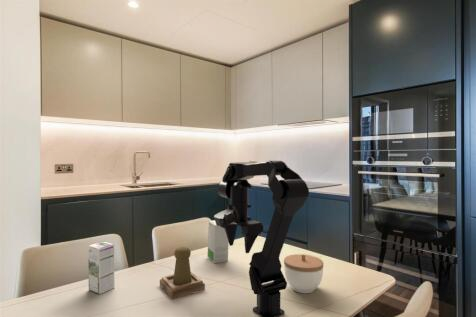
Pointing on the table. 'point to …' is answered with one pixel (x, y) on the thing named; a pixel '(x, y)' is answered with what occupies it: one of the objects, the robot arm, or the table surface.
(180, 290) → the square wooden tray
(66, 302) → the table surface
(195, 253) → the table surface
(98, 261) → the syrup box
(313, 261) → the lidded bowl
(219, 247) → the skincare box
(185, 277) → the olive pear-shaped figure
